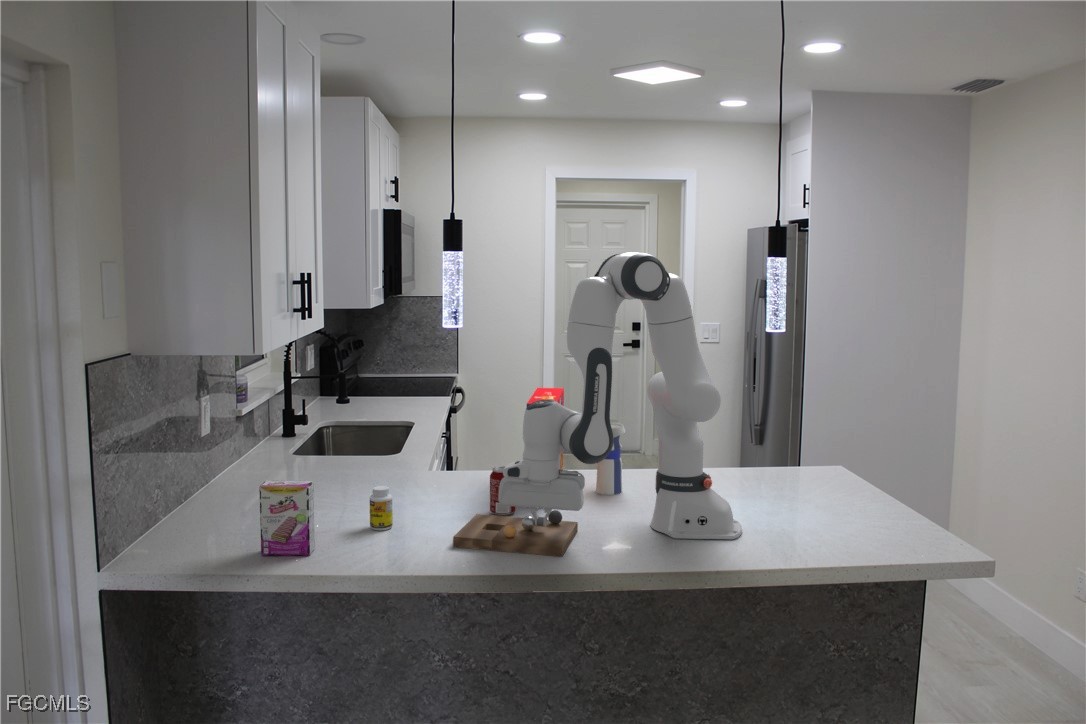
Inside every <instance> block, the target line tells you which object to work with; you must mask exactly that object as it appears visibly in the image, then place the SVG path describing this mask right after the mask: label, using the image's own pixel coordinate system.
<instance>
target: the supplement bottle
mask: <svg viewBox="0 0 1086 724" xmlns="http://www.w3.org/2000/svg"><path fill="white" fill-rule="evenodd" d="M393 523H394V521H393V495H391V493H390V487H388V486H386V485H377V486H374V487H372V494H371V495H370V496H369V528H370V529H371V530H373V531H378V532H379V531H388V530H390V529H391V528H392V527H393V525H394V524H393Z"/></svg>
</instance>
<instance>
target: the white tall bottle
mask: <svg viewBox="0 0 1086 724" xmlns="http://www.w3.org/2000/svg"><path fill="white" fill-rule="evenodd" d="M610 424H611V428H612V432H613V437H614V443H613V447H612V450H611V452H610V453H609V455H608V456H607V457H606V458H605V459H604V460H602V461H601V462H598V463H596V484H595V485H596V486H595V492H596V493H598V494H601V495H608V496H614V495H620V494H622V493H623V461H622V458H621V457H622V456H621V454H622V453H621V451H622V450H621V449H622V448H623V445H622V444H621V436H622V435H624V434H626V428H625V427H624V426H625V425H624V424H621V423H612V422H610Z"/></svg>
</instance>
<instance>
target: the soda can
mask: <svg viewBox="0 0 1086 724" xmlns="http://www.w3.org/2000/svg"><path fill="white" fill-rule="evenodd" d="M505 467H506V465H505V466H496V467H495V466H494V467H492V472H491V473H490V475H489V512H490V513H491V514H492V515H495V516H508V517H510V516H511V515H513V514H515V512H516V506H503V505H501V504H500V503H499V500H498V496H499V486H500V482H501V480H502V479H503V478H504V475H503V469H504V468H505Z"/></svg>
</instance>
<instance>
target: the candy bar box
mask: <svg viewBox="0 0 1086 724" xmlns="http://www.w3.org/2000/svg"><path fill="white" fill-rule="evenodd" d="M314 491H315V490H314V481H312V480H264V482H262V483H261V484H260V485H259V519H260V521H259V522H260V524H259V525H260V555H261V557H262V556H266V557H267V556H270V557H271V556H275V557H278V556H280V557H281V556H283V557H285V556H287V557H292V556H293V557H294V556H296V557H298V556H299V557H300V556H302V557H305V556H306V557H310V556H311V555H312V553H313V552H314V551H315V549H316V548H315V547H316V542H315V507H314V506H315V503H314V502H315V500H314V499H315V498H314V497H315V496H314V495H315V494H314Z"/></svg>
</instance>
